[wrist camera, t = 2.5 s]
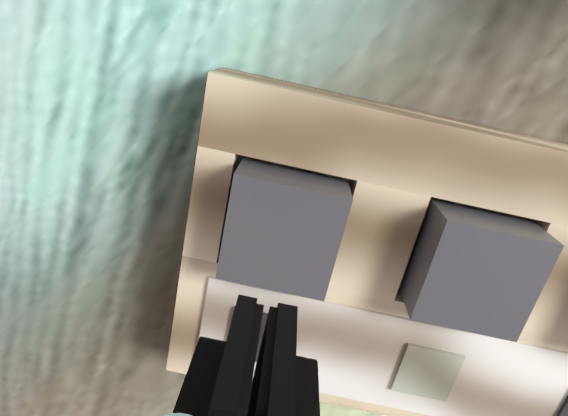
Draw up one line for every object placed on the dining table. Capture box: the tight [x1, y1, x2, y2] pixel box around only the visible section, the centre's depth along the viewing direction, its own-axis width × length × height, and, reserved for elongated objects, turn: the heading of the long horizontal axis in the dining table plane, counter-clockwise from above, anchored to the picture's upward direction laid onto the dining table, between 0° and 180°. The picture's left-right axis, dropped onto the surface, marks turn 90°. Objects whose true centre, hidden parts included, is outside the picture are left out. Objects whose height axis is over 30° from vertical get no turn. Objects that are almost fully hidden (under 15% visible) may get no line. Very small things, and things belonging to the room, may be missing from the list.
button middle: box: [399, 199, 564, 342], centre depth 20 cm, size 5×5×3 cm
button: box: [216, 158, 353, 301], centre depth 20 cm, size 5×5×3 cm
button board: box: [166, 68, 568, 416], centre depth 23 cm, size 16×27×4 cm, turn 78°
